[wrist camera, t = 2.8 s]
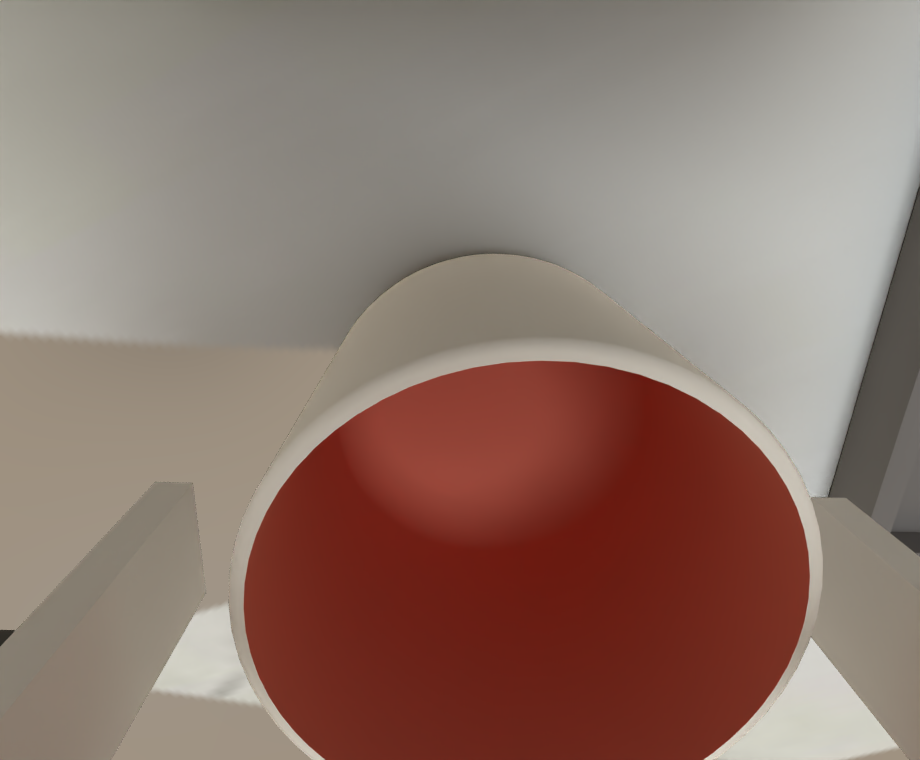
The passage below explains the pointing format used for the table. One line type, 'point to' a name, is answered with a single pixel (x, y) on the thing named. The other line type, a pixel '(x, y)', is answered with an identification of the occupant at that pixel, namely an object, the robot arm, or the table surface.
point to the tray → (890, 410)
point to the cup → (521, 537)
